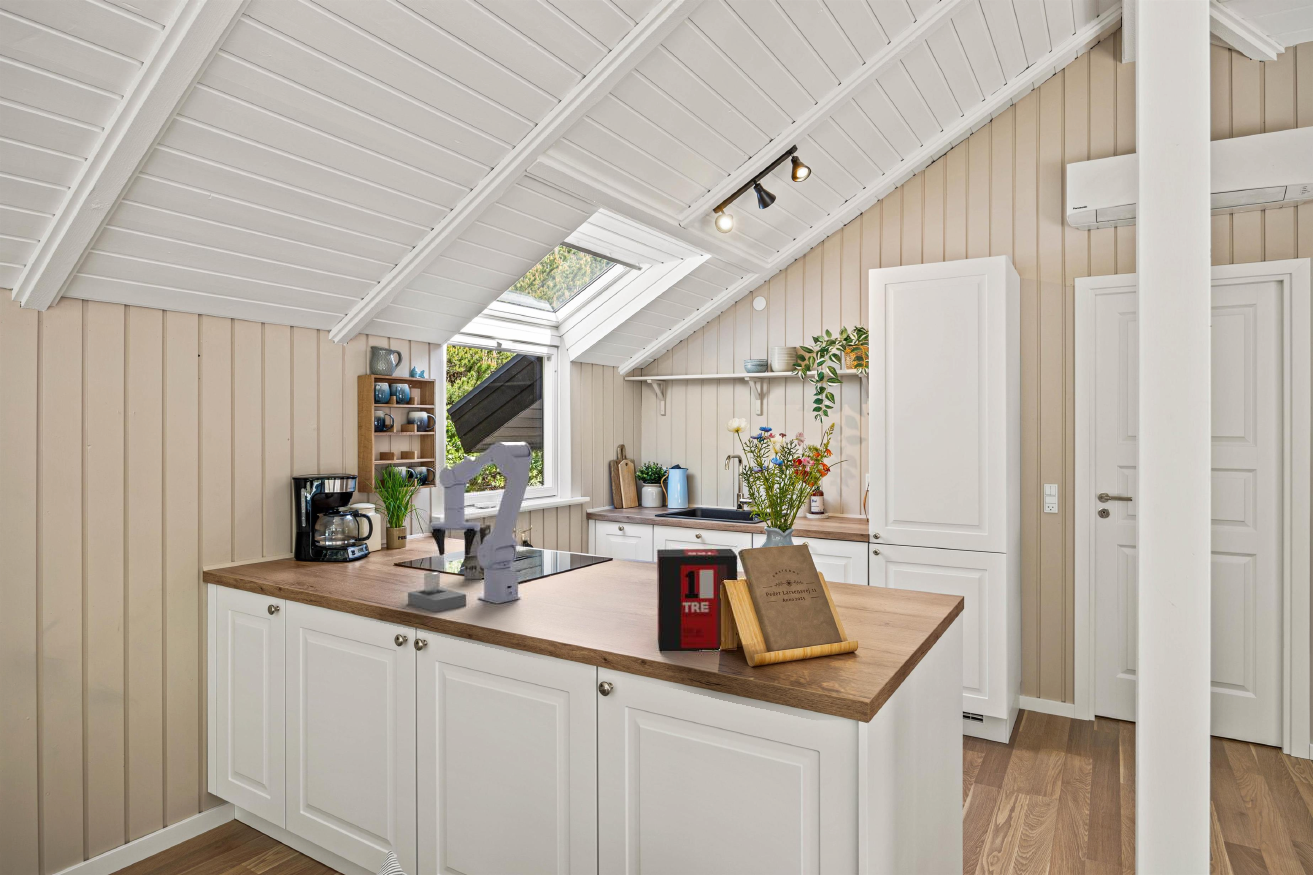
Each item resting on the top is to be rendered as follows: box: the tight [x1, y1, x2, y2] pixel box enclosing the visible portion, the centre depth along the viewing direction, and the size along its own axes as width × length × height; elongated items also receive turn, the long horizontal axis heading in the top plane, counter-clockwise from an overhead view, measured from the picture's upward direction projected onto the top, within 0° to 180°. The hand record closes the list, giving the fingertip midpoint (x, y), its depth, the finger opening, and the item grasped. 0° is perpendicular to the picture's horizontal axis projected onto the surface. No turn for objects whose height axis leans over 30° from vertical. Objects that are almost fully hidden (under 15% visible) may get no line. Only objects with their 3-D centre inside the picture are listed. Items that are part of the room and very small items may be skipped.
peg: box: [423, 571, 441, 595], centre depth 190 cm, size 4×4×8 cm
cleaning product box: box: [656, 548, 738, 652], centre depth 151 cm, size 16×9×20 cm, turn 92°
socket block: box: [407, 586, 467, 613], centre depth 188 cm, size 14×9×3 cm, turn 48°
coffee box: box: [464, 524, 492, 580], centre depth 225 cm, size 9×6×16 cm
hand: (454, 554), depth 205 cm, fingers open, 7 cm apart
